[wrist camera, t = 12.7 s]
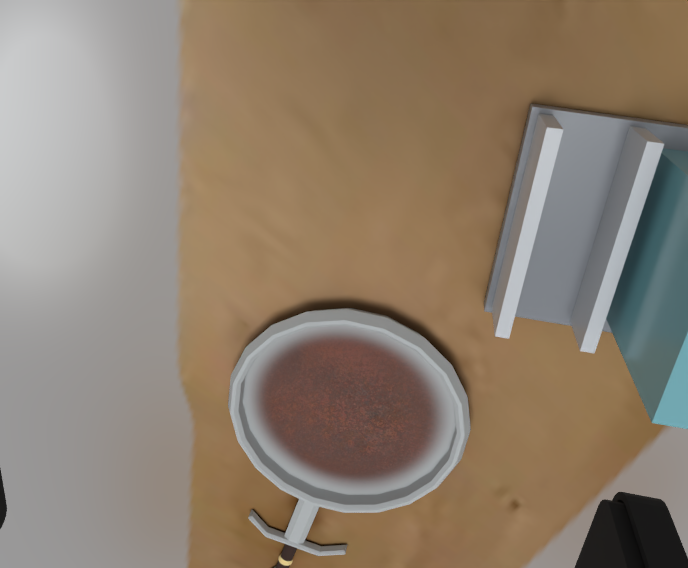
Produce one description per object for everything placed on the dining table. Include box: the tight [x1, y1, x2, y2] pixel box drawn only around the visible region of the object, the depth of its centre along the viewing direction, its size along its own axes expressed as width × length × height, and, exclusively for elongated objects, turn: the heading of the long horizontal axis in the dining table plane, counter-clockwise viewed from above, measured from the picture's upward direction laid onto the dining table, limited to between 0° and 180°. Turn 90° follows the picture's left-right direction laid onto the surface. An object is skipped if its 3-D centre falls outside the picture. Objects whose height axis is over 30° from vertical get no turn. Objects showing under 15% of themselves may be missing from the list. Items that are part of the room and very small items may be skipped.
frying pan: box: [228, 308, 471, 568], centre depth 48 cm, size 17×3×28 cm
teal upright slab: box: [606, 148, 688, 429], centre depth 32 cm, size 10×2×11 cm, turn 174°
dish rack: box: [484, 104, 688, 353], centre depth 36 cm, size 13×11×4 cm
